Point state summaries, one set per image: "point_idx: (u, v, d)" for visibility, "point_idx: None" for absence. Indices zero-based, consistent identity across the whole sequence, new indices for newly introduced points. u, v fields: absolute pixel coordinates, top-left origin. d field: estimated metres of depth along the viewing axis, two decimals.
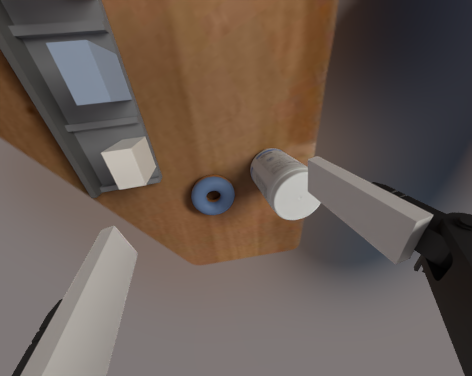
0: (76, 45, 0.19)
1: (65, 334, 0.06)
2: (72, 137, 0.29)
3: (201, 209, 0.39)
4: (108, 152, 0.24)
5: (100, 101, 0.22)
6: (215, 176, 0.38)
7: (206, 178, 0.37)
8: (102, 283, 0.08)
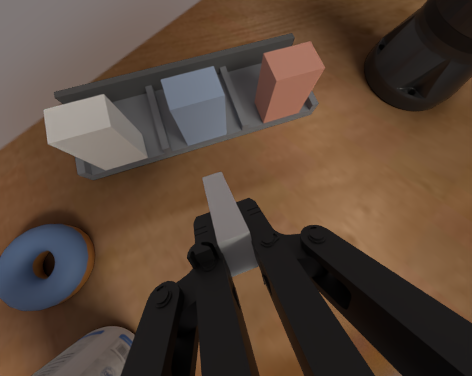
0: (217, 87, 0.19)
1: None
2: (139, 90, 0.27)
3: (12, 245, 0.20)
4: (104, 102, 0.18)
5: (168, 100, 0.18)
6: (89, 260, 0.22)
7: (84, 244, 0.22)
8: None
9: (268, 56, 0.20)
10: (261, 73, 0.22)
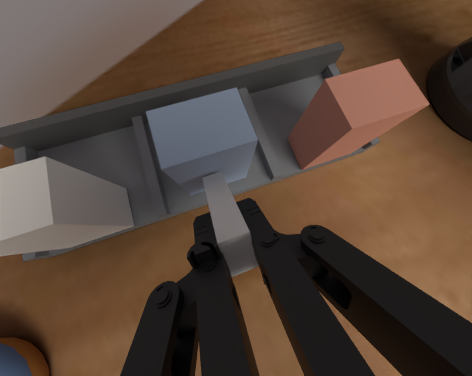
0: (245, 124, 0.11)
1: None
2: (124, 122, 0.19)
3: None
4: (45, 172, 0.10)
5: (158, 149, 0.10)
6: None
7: None
8: None
9: (333, 84, 0.12)
10: (313, 107, 0.14)
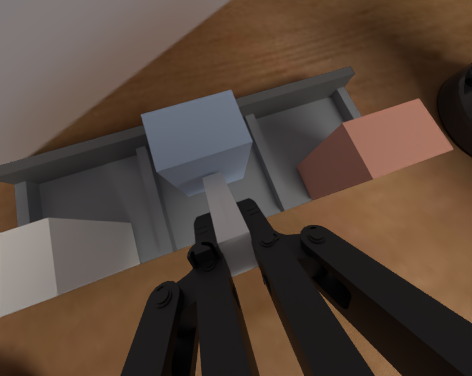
0: (239, 126, 0.11)
1: None
2: (128, 152, 0.18)
3: None
4: (48, 235, 0.09)
5: (153, 152, 0.10)
6: None
7: None
8: None
9: (351, 128, 0.11)
10: (327, 145, 0.13)
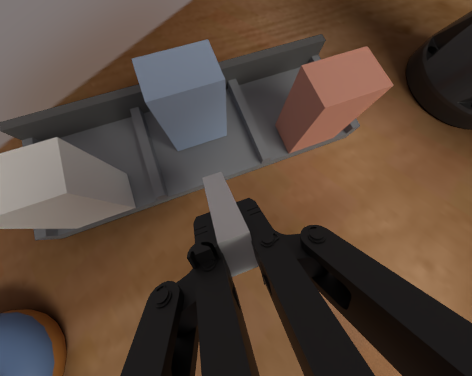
0: (214, 68, 0.13)
1: None
2: (123, 113, 0.20)
3: None
4: (57, 150, 0.11)
5: (142, 87, 0.12)
6: (55, 367, 0.15)
7: (49, 345, 0.15)
8: None
9: (308, 69, 0.13)
10: (294, 92, 0.15)
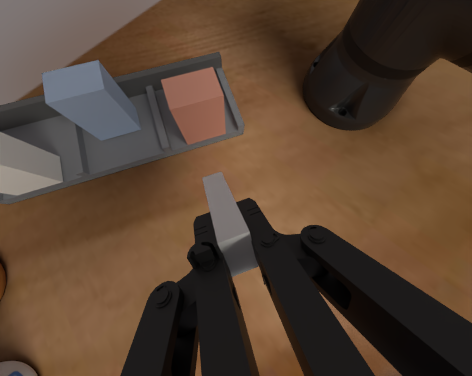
0: (98, 80, 0.19)
1: None
2: None
3: None
4: None
5: (45, 93, 0.18)
6: None
7: None
8: None
9: (165, 83, 0.19)
10: None
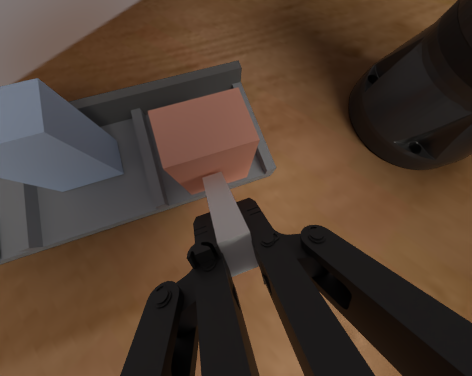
0: (34, 116, 0.10)
1: None
2: None
3: None
4: None
5: None
6: None
7: None
8: None
9: (155, 117, 0.11)
10: None
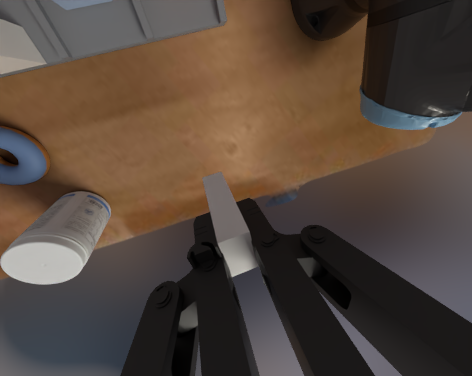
0: None
1: None
2: None
3: None
4: None
5: None
6: (44, 154, 0.30)
7: (33, 144, 0.29)
8: None
9: None
10: None
